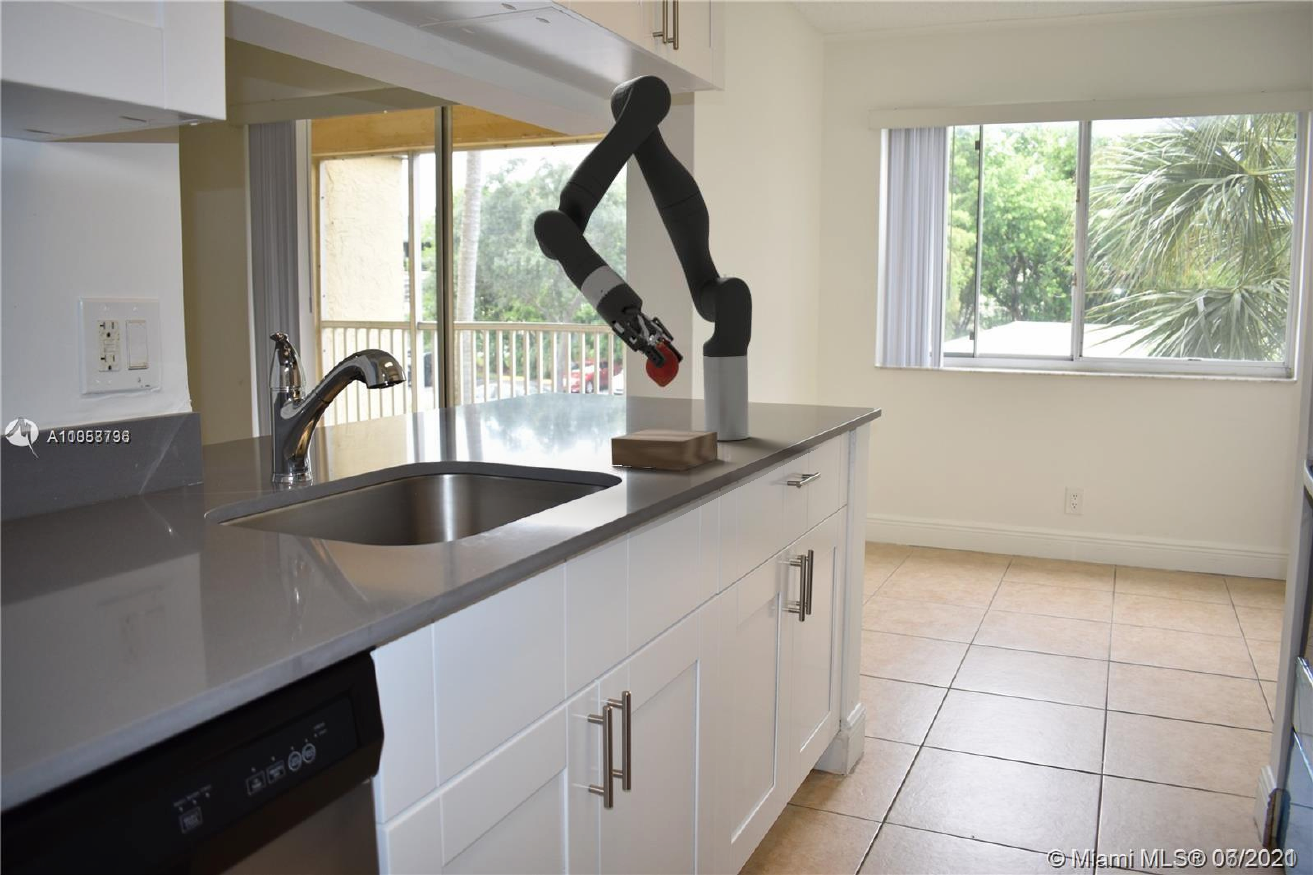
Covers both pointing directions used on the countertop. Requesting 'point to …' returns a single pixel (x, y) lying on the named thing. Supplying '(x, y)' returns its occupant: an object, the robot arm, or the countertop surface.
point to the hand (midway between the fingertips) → (671, 363)
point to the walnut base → (665, 449)
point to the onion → (663, 367)
